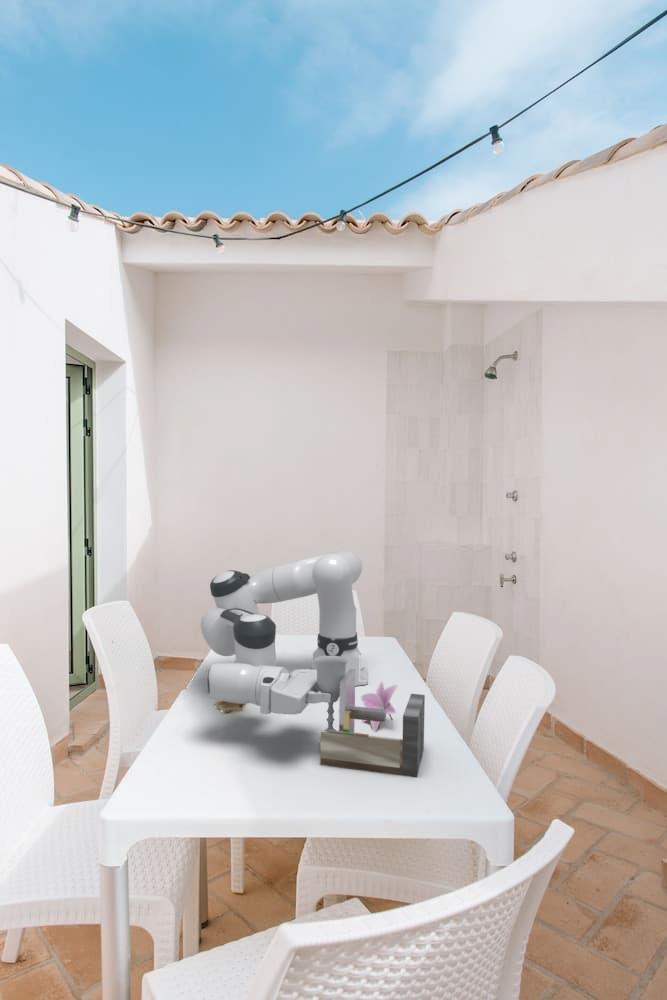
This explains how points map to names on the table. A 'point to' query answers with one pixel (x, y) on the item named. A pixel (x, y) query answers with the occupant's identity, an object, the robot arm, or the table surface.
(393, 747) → the wooden book stand
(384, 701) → the lily
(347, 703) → the grey metal angled plate
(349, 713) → the drag pointer
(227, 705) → the shard
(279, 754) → the table surface
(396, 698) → the table surface
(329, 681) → the chalice
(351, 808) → the table surface
